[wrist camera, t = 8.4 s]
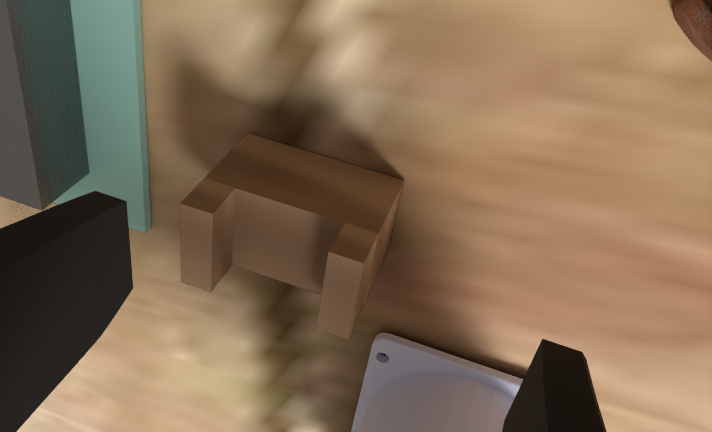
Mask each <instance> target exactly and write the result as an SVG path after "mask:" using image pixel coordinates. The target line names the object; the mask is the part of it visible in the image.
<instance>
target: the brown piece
mask: <svg viewBox="0 0 712 432" xmlns="http://www.w3.org/2000/svg"><path fill="white" fill-rule="evenodd" d="M673 7H674V10H673V12H674V17H675V20H676V22H677V23H678V24H679V26H680V27H681V29H682V30H683V32H684V33H685V35H686V36H687V37H688V39H689V40H690V41H691V42H692V43H693V44H694V46H695V47H696V48H697V49H699V50H700V51H701V52H702V53H703V54H704V55H705V56H706V57H707V58H708V59H710V60H711V61H712V11H711V9H710V8H709V6H708V5H707V3H706V2H705V0H676V1H675V2H674V6H673Z"/></svg>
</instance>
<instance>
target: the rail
mask: <svg viewBox="0 0 712 432" xmlns="http://www.w3.org/2000/svg"><path fill="white" fill-rule="evenodd" d="M88 174H89V164H88V155H87V146H86V137H85V128H84V119H83V110H82V101H81V92H80V83H79V75H78V66H77V57H76V48H75V39H74V30H73V21H72V12H71V3H70V0H0V196H1V197H4V198H7V199H10V200H13V201H16V202H19V203H22V204H25V205H28V206H31V207H34V208H36V209H39V210H43V209H45V208H46V207H47V206H49V205H50V204H51V203H52V202H54V201H55V200H56V199H57V198H59V197H60V196H61V195H62V194H64V193H65V192H66V191H67V190H69V189H70V188H71V187H72V186H74V185H75V184H76V183H77V182H79V181H80V180H81V179H82V178H84V177H85V176H86V175H88Z"/></svg>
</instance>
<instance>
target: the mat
mask: <svg viewBox="0 0 712 432" xmlns="http://www.w3.org/2000/svg"><path fill="white" fill-rule="evenodd" d="M70 3H71V12H72V21H73V30H74V39H75V48H76V57H77V66H78V75H79V83H80V92H81V101H82V110H83V119H84V128H85V137H86V146H87V155H88V164H89V174H88V175H86V176H85V177H84V178H82V179H81V180H80V181H79V182H77V183H76V184H75V185H74V186H72V187H71V188H70V189H69V190H67V191H66V192H65V193H64V194H62V195H61V196H60V197H59V198H57V199H56V200H55V201H54V202H53V203H56V204H62V203H64V202H67V201H69V200H72V199H74V198H77V197H79V196H82V195H85V194H88V193H90V192H93V191H98V192H101V193H104V194H107V195H110V196H113V197H116V198H119V199H122V200H125V201H127V214H128V227H129V228H130V229H133V230H136V231H139V232H142V233H145V234H146V233H147V232H148V231H149V230H150V229H151V211H150V190H149V169H148V148H147V127H146V105H145V84H144V63H143V42H142V21H141V0H70Z"/></svg>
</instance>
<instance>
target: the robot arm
mask: <svg viewBox="0 0 712 432" xmlns="http://www.w3.org/2000/svg"><path fill="white" fill-rule="evenodd" d="M132 289H133V281H132V268H131V254H130V241H129V227H128V214H127V201H125V200H122V199H119V198H116V197H113V196H110V195H107V194H104V193H101V192H98V191H93V192H90V193H88V194H85V195H82V196H79V197H77V198H74V199H72V200H69V201H67V202H64V203H62V204H59V205H57V206H54V207H52V208H49V209H47V210H45V211H42V212H40V213H37V214H35V215H33V216H30V217H28V218H25V219H23V220H20V221H18V222H16V223H13V224H11V225H8V226H6V227H3V228H1V229H0V432H16V431H17V430H18V429H19V428H20V427H21V426H22V425H23V423H24V422H25V421H26V420H27V419H28V418H29V417H30V416H31V414H32V413H33V412H34V411H35V410H36V409H37V408H38V407H39V405H40V404H41V403H42V402H43V401H44V400H45V399H46V398H47V397H48V395H49V394H50V393H51V392H52V391H53V390H54V389H55V388H56V386H57V385H58V384H59V383H60V382H61V381H62V380H63V379H64V377H65V376H66V375H67V374H68V373H69V372H70V371H71V370H72V368H73V367H74V366H75V365H76V364H77V363H78V362H79V360H80V359H81V358H82V357H83V356H84V355H85V354H86V352H87V351H88V350H89V349H90V348H91V347H92V346H93V344H94V343H95V342H96V341H97V340H98V339H99V337H100V336H101V335H102V334H103V332H104V331H105V329H106V328H107V326H108V325H109V324H110V322H111V321H112V319H113V318H114V316H115V315H116V313H117V312H118V310H119V309H120V307H121V306H122V304H123V303H124V301H125V300H126V298H127V296H128V295H129V293H130V292H131V290H132ZM381 353H384V354H386V355H387V356H385V355H383V354H381ZM351 432H606V429H605V425H604V422H603V419H602V416H601V412H600V409H599V406H598V402H597V399H596V395H595V392H594V388H593V384H592V380H591V377H590V373H589V369H588V365H587V360H586V358H585V356H584V355H583V353H582V352H581V351H577V350H574V349H571V348H568V347H565V346H562V345H559V344H556V343H553V342H550V341H547V340H544V339H542V341H541V343H540V345H539V347H538V350H537V352H536V354H535V356H534V358H533V360H532V362H531V364H530V367H529V369H528V371H527V373H526V375H525V377H524V379H521V378H518V377H515V376H512V375H509V374H506V373H503V372H500V371H497V370H494V369H492V368H489V367H486V366H483V365H480V364H477V363H474V362H471V361H468V360H465V359H462V358H459V357H457V356H454V355H451V354H448V353H445V352H442V351H439V350H436V349H433V348H430V347H427V346H424V345H421V344H419V343H416V342H413V341H410V340H407V339H404V338H401V337H398V336H395V335H392V334H389V333H379V334H378V335H376V337H375V339H374V341H373V344H372V348H371V352H370V356H369V360H368V364H367V368H366V372H365V376H364V380H363V384H362V389H361V393H360V397H359V401H358V405H357V409H356V413H355V417H354V421H353V425H352V430H351Z"/></svg>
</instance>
